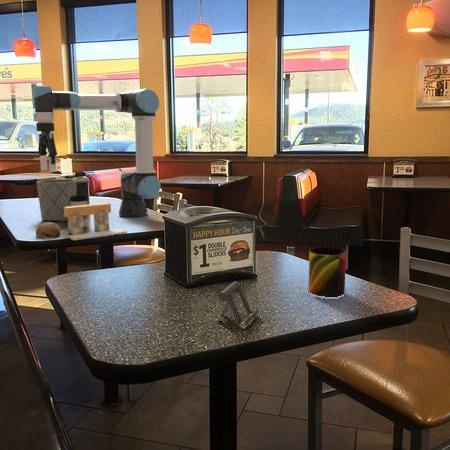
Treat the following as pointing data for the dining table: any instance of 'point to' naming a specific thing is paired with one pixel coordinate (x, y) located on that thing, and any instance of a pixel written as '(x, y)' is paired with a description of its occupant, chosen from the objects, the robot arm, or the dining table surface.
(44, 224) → the bread roll
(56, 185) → the planter
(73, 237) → the board
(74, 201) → the coffee cup
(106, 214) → the post
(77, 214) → the post
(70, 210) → the rail
